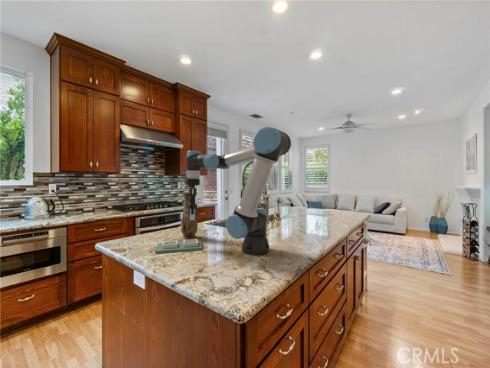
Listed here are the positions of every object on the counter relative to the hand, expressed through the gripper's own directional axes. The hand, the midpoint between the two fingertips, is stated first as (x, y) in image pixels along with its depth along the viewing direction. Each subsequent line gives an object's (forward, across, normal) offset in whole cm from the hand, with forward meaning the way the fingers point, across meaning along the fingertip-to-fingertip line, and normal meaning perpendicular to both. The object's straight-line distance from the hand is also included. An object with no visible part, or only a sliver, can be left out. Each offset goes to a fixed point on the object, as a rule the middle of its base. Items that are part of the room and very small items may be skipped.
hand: (192, 218), depth 132 cm
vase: (+16, -18, -2) cm, 25 cm away
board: (+16, +2, -7) cm, 17 cm away
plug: (0, 0, 0) cm, 0 cm away
